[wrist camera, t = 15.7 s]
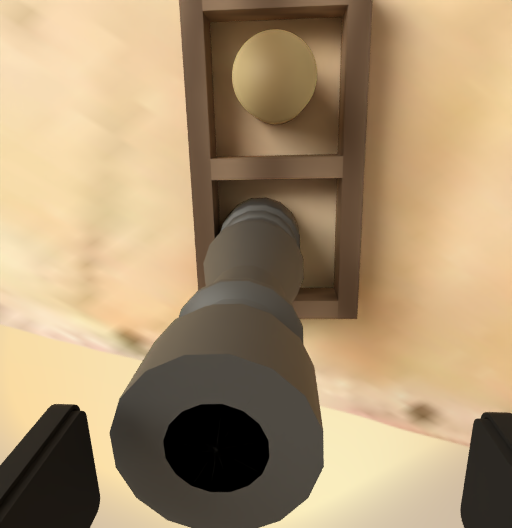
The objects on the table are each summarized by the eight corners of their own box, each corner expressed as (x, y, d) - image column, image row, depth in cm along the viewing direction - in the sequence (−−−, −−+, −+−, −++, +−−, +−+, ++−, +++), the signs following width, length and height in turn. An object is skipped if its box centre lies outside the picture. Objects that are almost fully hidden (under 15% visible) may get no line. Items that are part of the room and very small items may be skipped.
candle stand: (364, -9, 30) (393, -58, 22) (351, 304, 36) (369, 349, 29) (187, -1, 30) (156, -46, 23) (206, 304, 37) (187, 348, 30)
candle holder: (228, 191, 34) (103, 324, 10) (304, 203, 34) (358, 364, 10) (219, 265, 36) (96, 521, 12) (292, 276, 36) (312, 556, 12)
